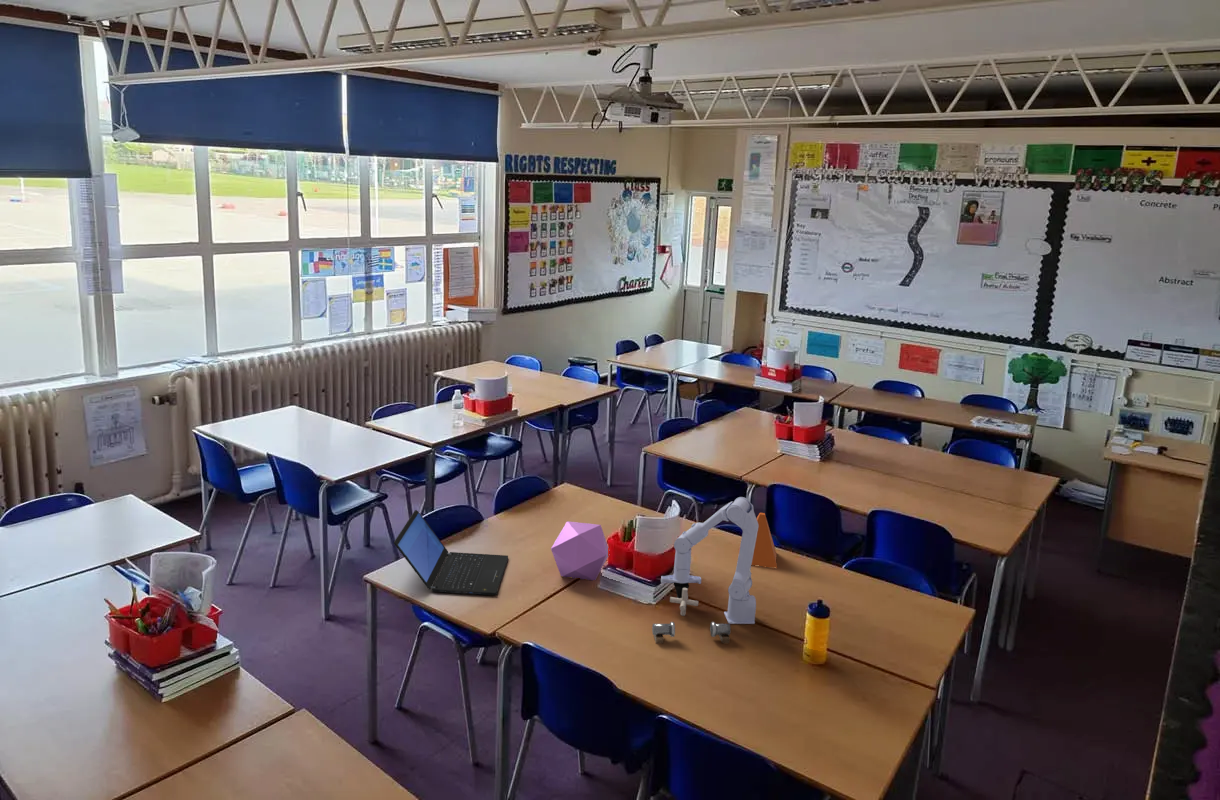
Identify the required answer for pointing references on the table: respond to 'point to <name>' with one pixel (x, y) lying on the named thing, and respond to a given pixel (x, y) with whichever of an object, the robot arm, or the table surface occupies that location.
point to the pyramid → (764, 545)
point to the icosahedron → (580, 550)
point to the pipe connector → (684, 601)
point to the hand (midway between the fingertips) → (679, 600)
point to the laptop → (448, 562)
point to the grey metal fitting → (663, 631)
